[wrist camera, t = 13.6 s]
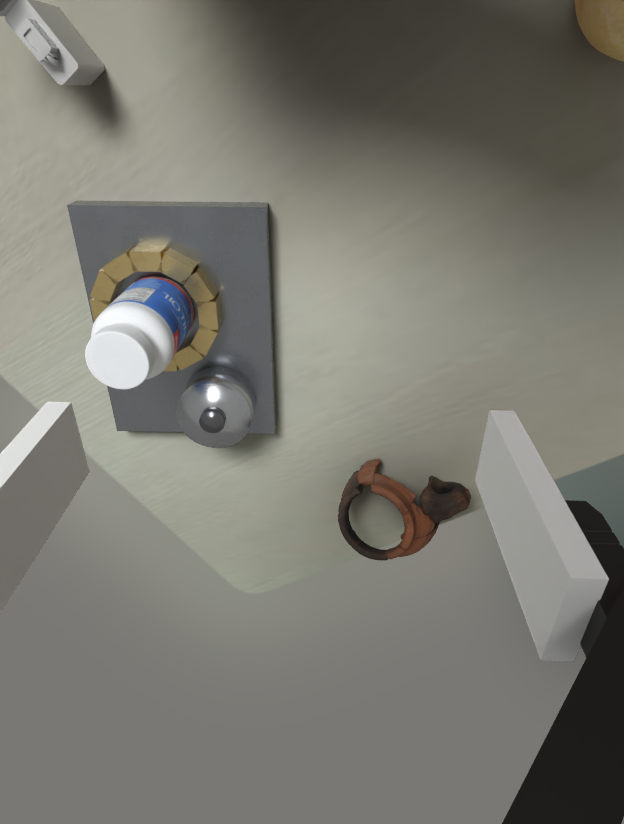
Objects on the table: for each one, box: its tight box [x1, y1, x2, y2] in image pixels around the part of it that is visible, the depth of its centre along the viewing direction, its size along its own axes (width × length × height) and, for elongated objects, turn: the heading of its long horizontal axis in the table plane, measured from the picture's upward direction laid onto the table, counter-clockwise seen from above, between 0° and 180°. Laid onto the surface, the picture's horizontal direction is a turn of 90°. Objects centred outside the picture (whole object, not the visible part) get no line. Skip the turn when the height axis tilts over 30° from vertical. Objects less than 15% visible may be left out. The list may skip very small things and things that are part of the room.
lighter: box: [0, 0, 105, 85], centre depth 30 cm, size 7×2×8 cm, turn 36°
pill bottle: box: [85, 276, 194, 389], centre depth 37 cm, size 6×5×10 cm
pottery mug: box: [338, 459, 471, 560], centre depth 50 cm, size 12×10×8 cm
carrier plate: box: [67, 201, 276, 448], centre depth 42 cm, size 19×14×5 cm
